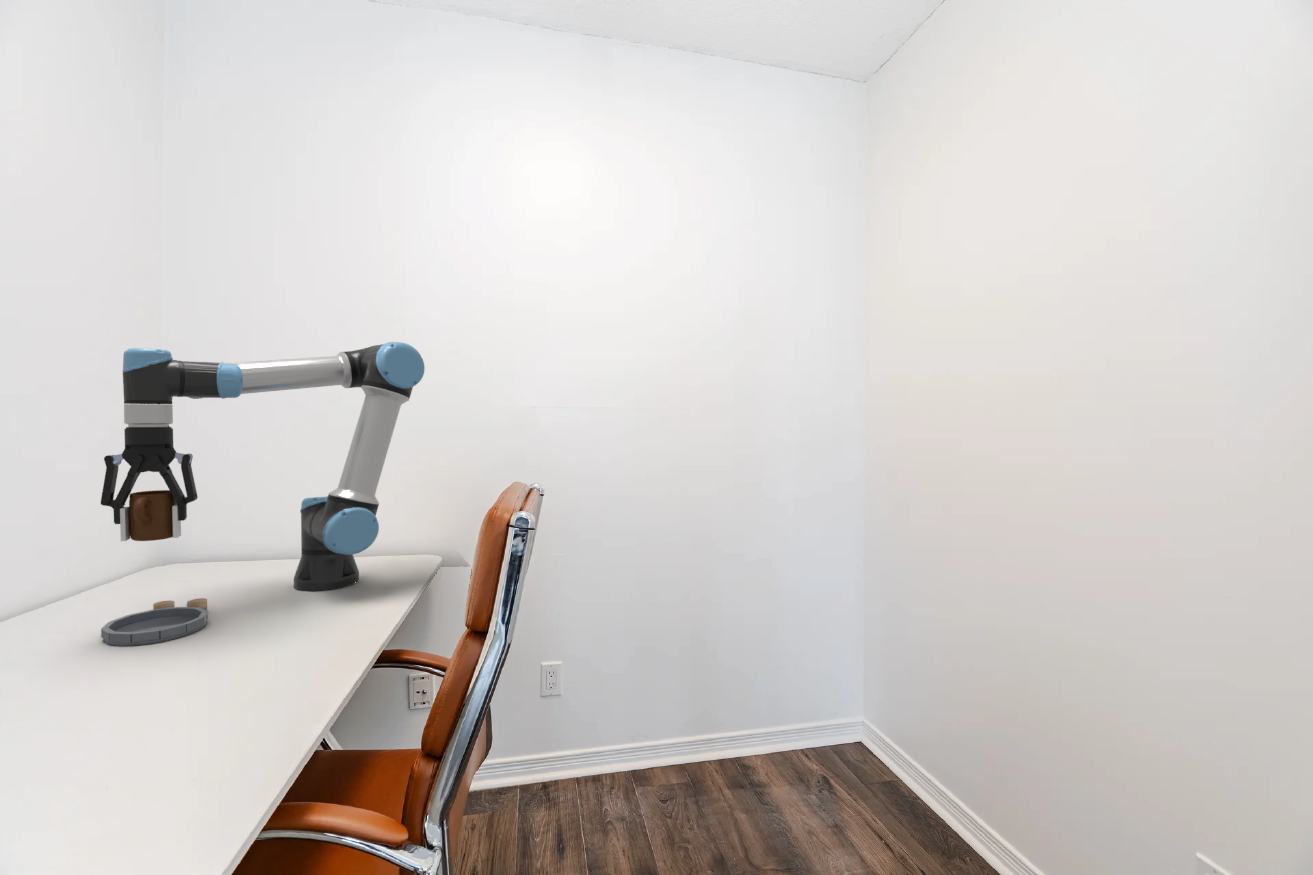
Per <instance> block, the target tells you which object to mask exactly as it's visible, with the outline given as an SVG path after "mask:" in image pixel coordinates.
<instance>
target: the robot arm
mask: <svg viewBox="0 0 1313 875" xmlns="http://www.w3.org/2000/svg"><path fill="white" fill-rule="evenodd" d="M122 357H123V360H122V362H123V363H122V385H123V386H122V388H123V424H125V425H127V427H125V428H124V430H123V431H124V449H123V451H122V452H121V453H120V454H119V453H118V454H108V455H105V456H104V458H103V461H104V464H105V468H106V469H105V475H104V479H103V480H104V481H103V487H102V492H101V497H100V505H101V506H104V507H111V508H112V510H113V523H114V525H120V526H119V527H120V529H119V530H120V542H127V541H129V540H130V539H131V537H130V520H129V506H125V505H126V503H127V500H128V498H129V497H130V494H131V492H132V490H133V488H134V486H135V485H136V484H135V483H136V482H137V480H138V478H139V476H140V475H141V474H142V473H146V472H152V473H159V475H160V476H161V477H162V478H163V480H164V482H165V485H166V486H167V488H168V490H170V492H171V494H172V495H173V497H174V499H175V501H176V503H177V504H176V505H174V506H172V514H173V537H172V538H173V539H175V538H177V539H178V538H179V537H180V536H182V521H186V519H187V517H188V513H187V512H188V511H187V509H188V507H187V506H188V504H189V503H192V502H195V501H196V500H198V497H199V496H198V492H197V487H196V483H195V479H194V473H193V468H192V462H193V458H194V457H193V456H194V455H193V454H192V453H180V452H177V451H176V449H175V447H174V428H172V426H170V425H172V424H173V423H174V420H173V419H174V418H173V416H174V415H173V398H174V397H177V398H183V397H185V398H186V397H187V398H189V399H193V400H197V399H200V400H201V399H211V398H214V399H234V398H235V399H236V398H238V397H240V396H241V395H246V394H257V393H267V392H268V393H269V392H278V391H288V390H289V391H291V390H300V389H312V388H313V389H314V388H321V387H334V386H341V387H343V388H344V389H354V388H361V390H362V391H363V393H364V394H365V395H364V396H365V397H364V400H363V403H362V407H361V410H360V414H359V417H358V420H357V423H356V427H355V429H354V433H353V435H352V440H351V443H350V447H349V450H348V452H347V456H346V459H345V463H344V466H343V469H342V473H341V476H340V479H339V483H338V486H337V488H335V489H334V490H332V491H330V492H328V495H327V496H326V495H325V496H318V497H317V496H316V497H305V498H304V499H303V500H302V502H301V504H300V505H301V507H300V511H299V512H300V523H301V524H300V528H301V530H300V532H301V534H300V535H301V536H300V538H301V542H300V543H301V544H300V546H301V547H300V548H301V553H300V554H301V555H300V559H299V562H298V565H297V568H296V571H295V573H294V576H293V588H294V589H296V590H299V591H311V592H312V591H315V592H316V591H328V590H336V589H340V588H341V589H343V588H346V587H349V586H352V585H354V584H356V583H358V582H359V581H358V580H360V571H359V568H358V565H357V562H356V560H355V557H354V555H355V554H356V555H357V554H359V553H362V552H363V551H366V550H367V549H369V547H371V546H372V545H373V544H374V542H375V541H376V539H377V537H378V535H379V530H380V525H379V520H378V518H377V517H376V515H377V513H378V509H379V506H380V502H379V500H378V499H377V497H376V494H377V489H378V485H379V482H380V479H381V475H382V472H383V469H384V468H383V467H384V465H385V461H386V458H387V455H388V451H389V448H390V444H391V442H392V441H391V440H392V438H393V435H394V434H393V433H394V430H395V427H396V425H397V424H396V423H397V420H398V417H399V413H400V409H401V406H402V405H403V404H405V403H407V402H409V401H410V399H411V396H412V392H413V388H414V387H415V386H416V385H418V384H419V383H420V382H421V381H422V379H423V377H424V374H425V371H426V370H425V361H424V360H423V357H422V355H421V354H420V352H419V351H418V350H417V349H416V348H415V347H414V346H412V345H410V344H408V343H406V342H400V341H389V342H385V343H381V344H377V345H371V346H369V347H364V348H361V349H356V350H351V351H348V350H347V351H339V352H338V353H337V354H336V355H333V356H320V357H319V356H317V357H316V356H315V357H302V358H287V359H286V358H285V359H284V358H283V359H274V360H273V359H270V360H256V361H240V362H238V361H237V362H224V361H223V362H221V361H220V362H210V361H187V360H185V361H184V360H177V359H173V357H172V353H171V351H170V350H167V349H160V348H159V349H158V348H147V347H143V348H142V347H131V348H128V349H126V350H124V351H123V356H122ZM174 459H176V460H177V463H178V464H180V469H181V475H182V478H183V483H184V488H185V492H186V496H185V494H184V492H183V490H182V488H181V487H180V484H179V483H178V481H177V479H176V477H175V476H174V474H173V473H174V472H173V471H172V469H171V467H170V464H171V463H172V462H173V461H174ZM123 460H124V461H125V462H126V463H127V464H128V465H129V466H130V468H129V470H128V472H127V475H126V477H125V479H124V481H123V482H122V485H121V487H120V489H119V492H118V493H117V495H116V498H115V499H114V496H115V491H116V486H117V481H118V480H117V479H118V474H119V466H120V465H121V464H122V461H123ZM355 582H356V583H355Z"/></svg>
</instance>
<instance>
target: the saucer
mask: <svg viewBox="0 0 1313 875" xmlns="http://www.w3.org/2000/svg"><path fill="white" fill-rule="evenodd" d="M208 619H209V610H208V609H207V610H205V609H202V608H200V607H187V606H175V607H171V608H162V609H155V610H154V609H153V608H152V609H150V610H144V611H140V612H136V613H132V614H131V613H130V614H127V615H124V616H122V617H118V618H116V619H112V620H110V621H108V622H107V623H106V624H104V625H103V626H102V627H101V628H100V634H101V635H100V638H102V639H103V642H104V643H105V644H106V645H109V646H114V647H134V646H135V647H136V646H146V645H152V644H159V643H163V642H169V641H172V640H175V639H176V640H177V639H180V638H183V637H186V636H190V635H191V634H195V633H197V632H198V631H200V630H202V629H203V628H204V627H206V624H207V621H208Z"/></svg>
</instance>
